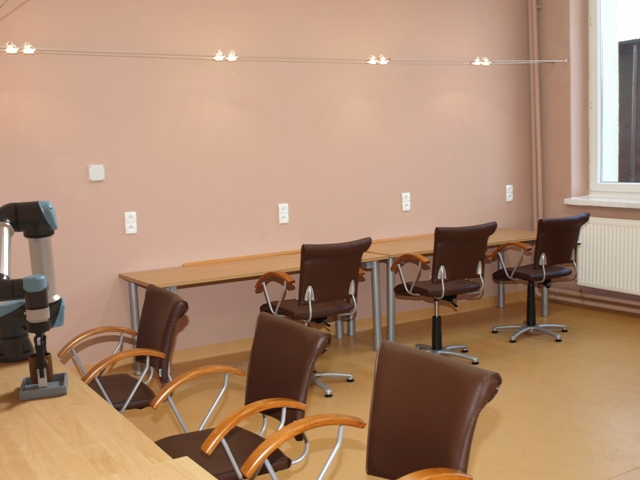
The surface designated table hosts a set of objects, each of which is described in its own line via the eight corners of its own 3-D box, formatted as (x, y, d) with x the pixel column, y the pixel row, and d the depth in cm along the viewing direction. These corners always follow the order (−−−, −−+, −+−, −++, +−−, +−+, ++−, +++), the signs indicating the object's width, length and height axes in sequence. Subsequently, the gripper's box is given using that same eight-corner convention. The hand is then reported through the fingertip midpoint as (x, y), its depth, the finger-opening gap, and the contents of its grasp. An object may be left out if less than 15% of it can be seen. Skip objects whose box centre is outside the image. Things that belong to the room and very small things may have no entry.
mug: (60, 384, 246) (58, 357, 245) (37, 389, 242) (35, 362, 241) (50, 376, 256) (47, 350, 255) (28, 381, 252) (25, 355, 250)
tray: (24, 385, 255) (23, 377, 255) (67, 380, 260) (67, 372, 259) (19, 400, 239) (19, 392, 239) (66, 394, 244) (65, 386, 243)
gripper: (29, 314, 257) (34, 373, 259) (23, 329, 234) (29, 393, 237) (51, 312, 259) (56, 370, 261) (48, 326, 236) (54, 390, 239)
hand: (44, 381), depth 249 cm, fingers closed on mug, 11 cm apart
